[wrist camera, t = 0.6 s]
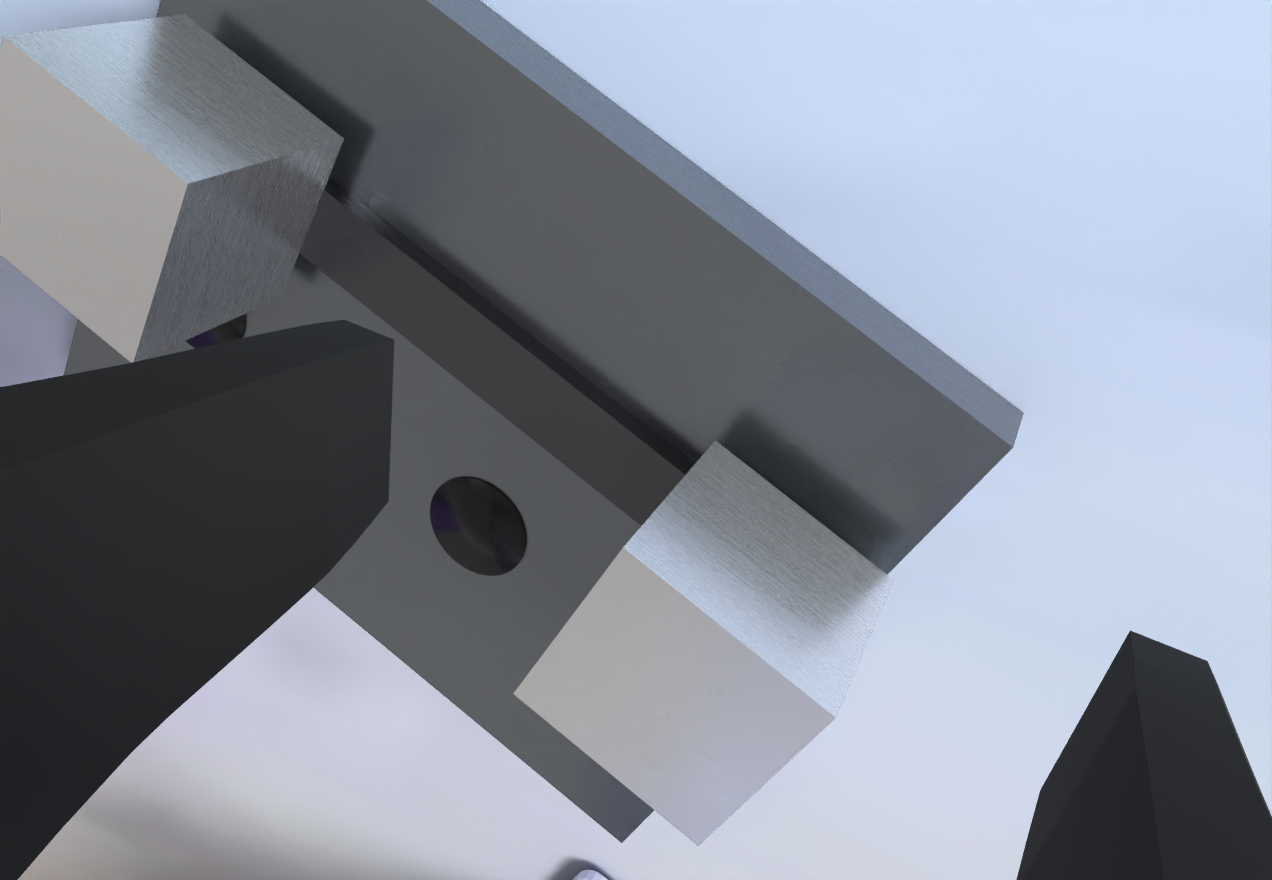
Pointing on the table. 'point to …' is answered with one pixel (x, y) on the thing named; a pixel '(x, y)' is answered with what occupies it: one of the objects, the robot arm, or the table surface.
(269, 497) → the robot arm
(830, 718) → the sliding block
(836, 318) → the bolt plate
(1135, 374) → the table surface
